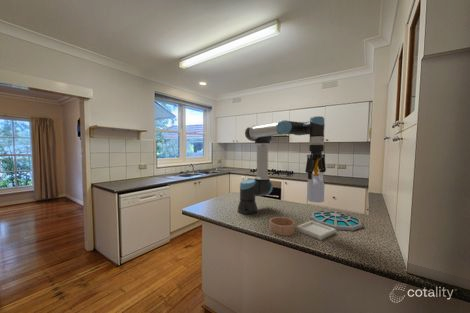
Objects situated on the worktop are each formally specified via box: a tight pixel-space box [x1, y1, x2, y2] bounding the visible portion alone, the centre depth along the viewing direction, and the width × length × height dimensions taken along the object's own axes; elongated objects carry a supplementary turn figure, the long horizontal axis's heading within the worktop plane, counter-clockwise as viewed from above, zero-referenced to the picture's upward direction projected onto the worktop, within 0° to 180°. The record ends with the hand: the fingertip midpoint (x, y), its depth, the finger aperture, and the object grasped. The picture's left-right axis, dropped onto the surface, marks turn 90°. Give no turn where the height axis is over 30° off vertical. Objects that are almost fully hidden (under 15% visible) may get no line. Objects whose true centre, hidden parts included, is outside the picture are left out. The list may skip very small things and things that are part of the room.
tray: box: [296, 220, 336, 242], centre depth 110 cm, size 15×15×2 cm
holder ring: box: [268, 216, 296, 236], centre depth 112 cm, size 14×14×5 cm
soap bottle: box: [306, 158, 325, 204], centre depth 108 cm, size 9×9×25 cm
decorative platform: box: [310, 210, 364, 232], centre depth 127 cm, size 31×29×5 cm
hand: (315, 184), depth 109 cm, fingers closed on soap bottle, 9 cm apart
